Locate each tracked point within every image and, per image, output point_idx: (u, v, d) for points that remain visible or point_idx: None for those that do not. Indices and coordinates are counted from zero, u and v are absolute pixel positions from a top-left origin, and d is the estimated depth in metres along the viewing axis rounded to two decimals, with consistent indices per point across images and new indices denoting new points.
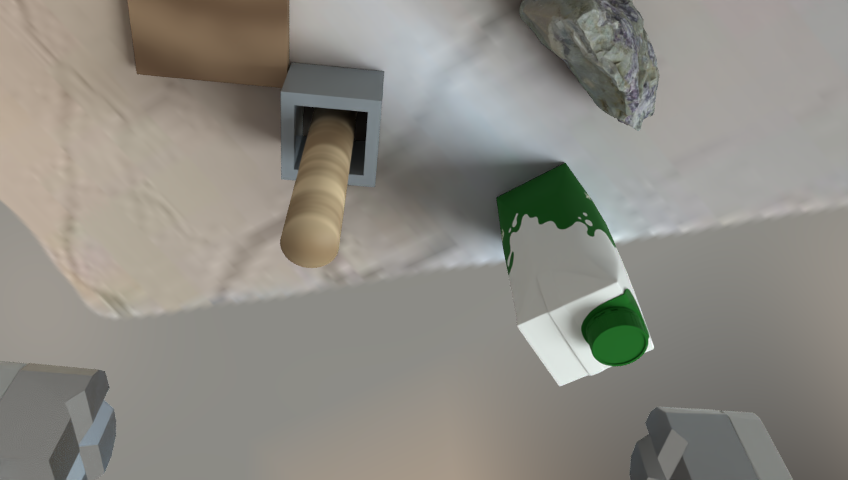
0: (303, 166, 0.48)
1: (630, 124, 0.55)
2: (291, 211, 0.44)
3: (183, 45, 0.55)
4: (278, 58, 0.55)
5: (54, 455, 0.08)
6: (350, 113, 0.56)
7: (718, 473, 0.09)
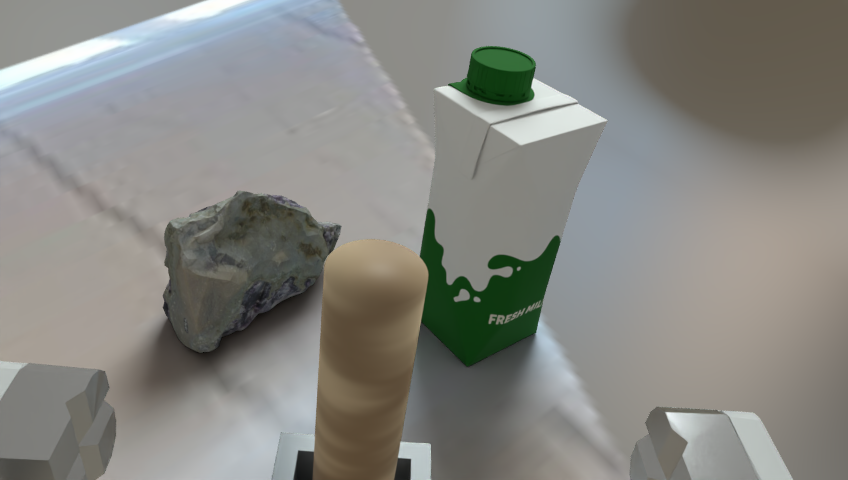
0: (326, 436, 0.27)
1: (329, 225, 0.51)
2: (336, 332, 0.24)
3: None
4: None
5: (54, 455, 0.08)
6: None
7: (718, 473, 0.09)
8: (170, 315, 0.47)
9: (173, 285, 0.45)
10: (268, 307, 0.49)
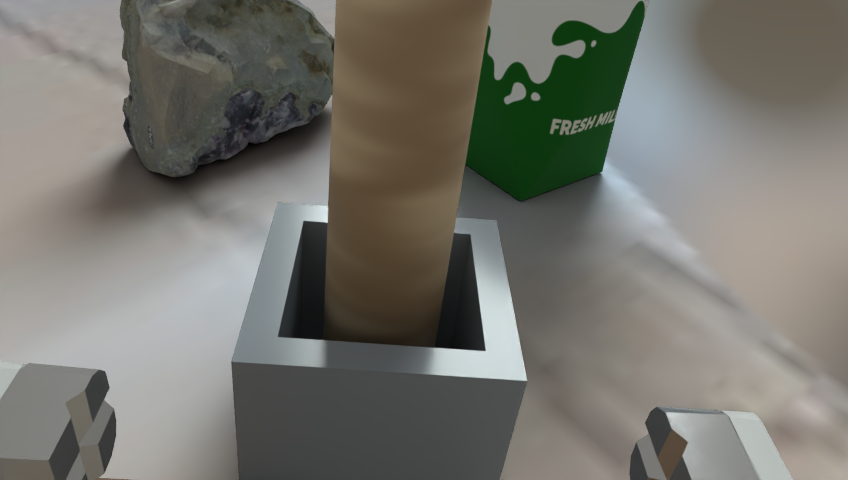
0: (353, 91, 0.16)
1: None
2: None
3: None
4: None
5: (54, 455, 0.08)
6: None
7: (718, 473, 0.09)
8: (132, 133, 0.35)
9: (133, 82, 0.34)
10: (261, 134, 0.38)
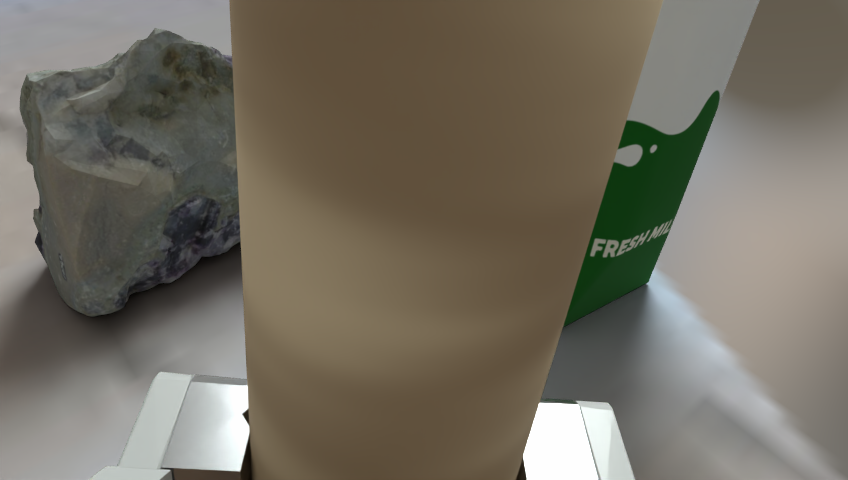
0: (279, 471, 0.08)
1: None
2: None
3: None
4: None
5: (242, 466, 0.09)
6: None
7: (555, 463, 0.09)
8: (45, 253, 0.27)
9: (40, 195, 0.25)
10: (218, 247, 0.29)
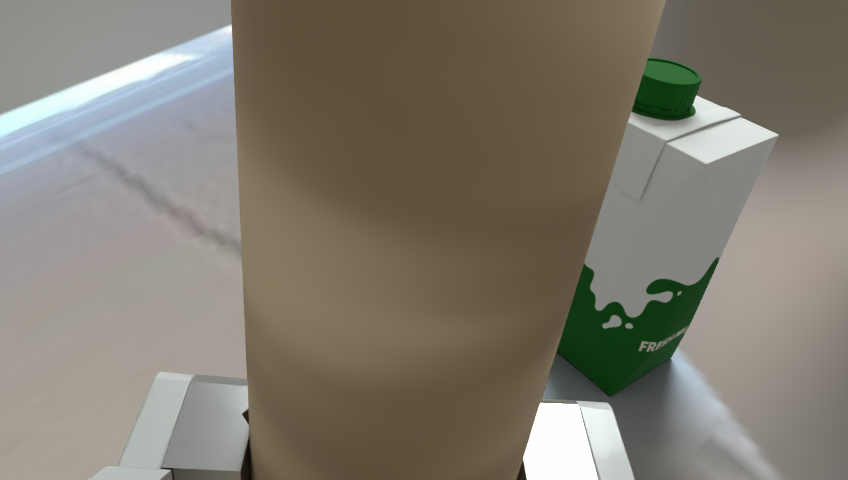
0: (279, 472, 0.08)
1: None
2: None
3: None
4: None
5: (242, 466, 0.09)
6: None
7: (555, 463, 0.09)
8: None
9: None
10: None
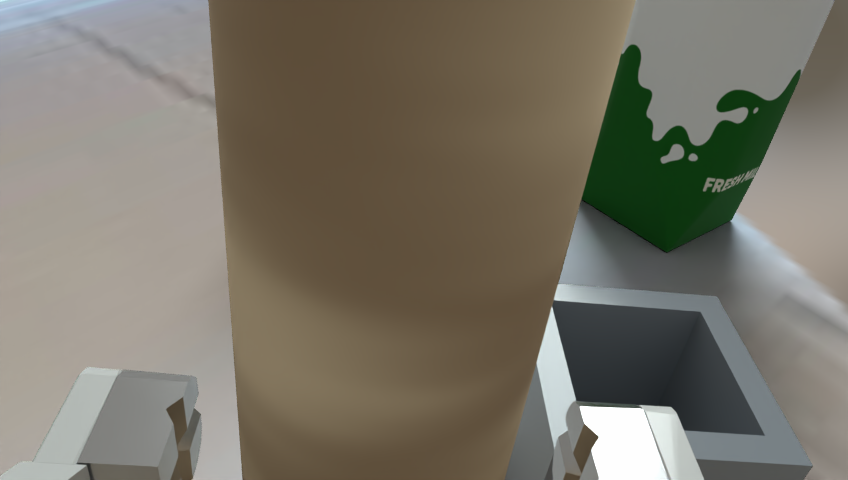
0: None
1: None
2: (260, 63, 0.05)
3: None
4: None
5: (161, 461, 0.08)
6: None
7: (626, 468, 0.09)
8: None
9: None
10: None
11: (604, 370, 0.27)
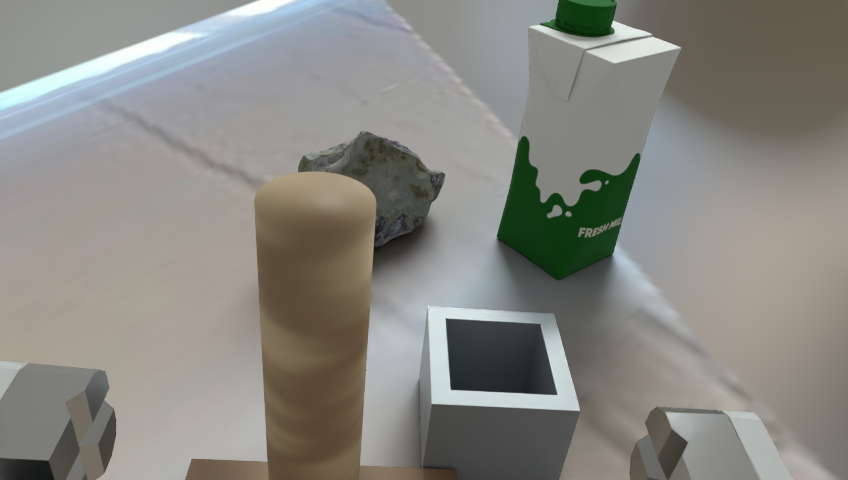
0: (274, 405, 0.24)
1: (436, 172, 0.57)
2: (271, 273, 0.20)
3: None
4: (409, 477, 0.37)
5: (54, 455, 0.08)
6: None
7: (718, 473, 0.09)
8: None
9: None
10: (381, 242, 0.55)
11: (486, 362, 0.42)
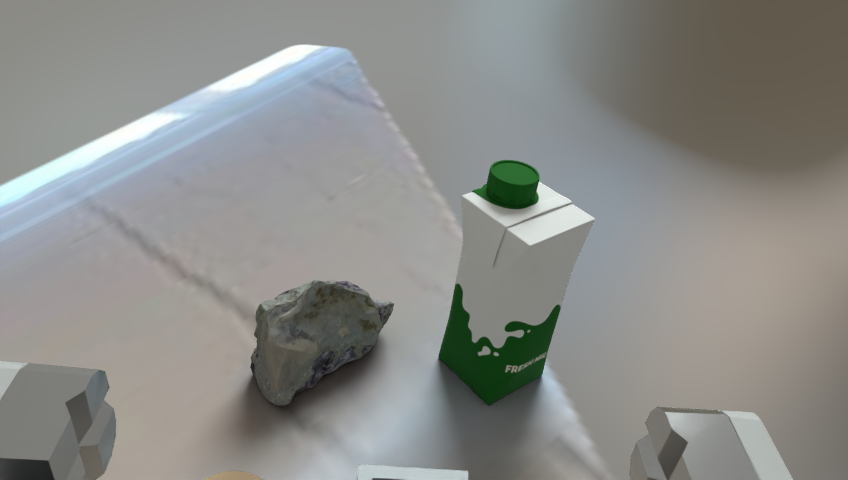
0: None
1: (384, 304, 0.63)
2: None
3: None
4: None
5: (54, 455, 0.08)
6: None
7: (718, 473, 0.09)
8: (256, 373, 0.59)
9: (260, 352, 0.57)
10: (332, 370, 0.61)
11: None
